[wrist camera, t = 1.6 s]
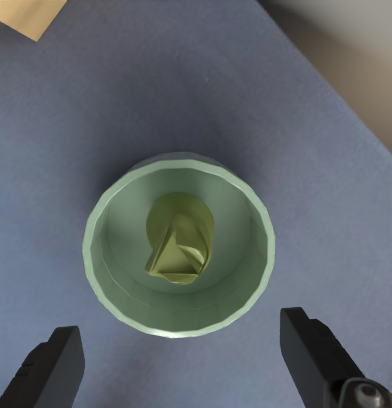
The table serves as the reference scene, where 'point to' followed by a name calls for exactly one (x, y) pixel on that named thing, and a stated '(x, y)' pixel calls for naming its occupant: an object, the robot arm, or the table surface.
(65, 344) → the robot arm
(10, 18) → the block
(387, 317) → the table surface
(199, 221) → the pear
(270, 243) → the pot
